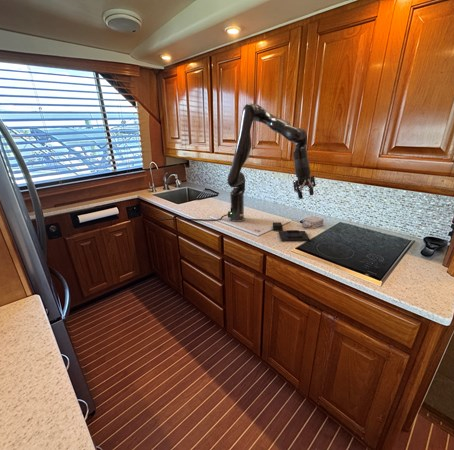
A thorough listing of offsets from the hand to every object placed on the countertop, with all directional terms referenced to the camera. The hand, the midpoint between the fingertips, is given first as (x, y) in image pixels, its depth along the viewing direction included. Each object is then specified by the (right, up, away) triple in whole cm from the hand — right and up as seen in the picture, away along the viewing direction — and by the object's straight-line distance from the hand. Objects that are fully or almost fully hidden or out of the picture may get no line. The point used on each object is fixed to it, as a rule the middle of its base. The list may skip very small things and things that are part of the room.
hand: (306, 196), depth 130 cm
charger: (+10, -16, +25) cm, 32 cm away
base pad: (-4, -22, +11) cm, 25 cm away
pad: (-12, -18, +22) cm, 31 cm away
